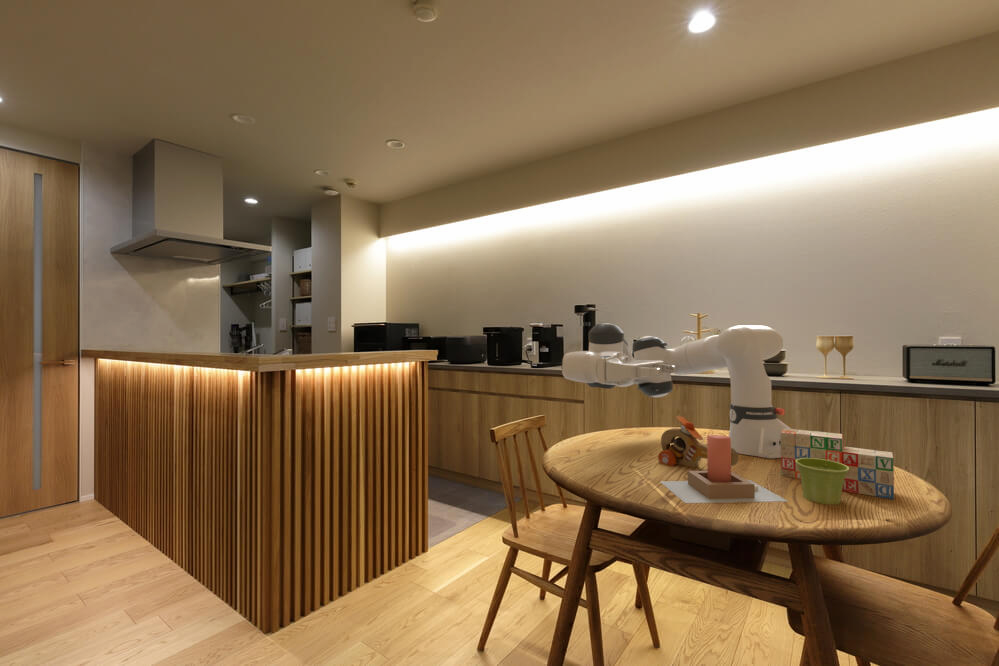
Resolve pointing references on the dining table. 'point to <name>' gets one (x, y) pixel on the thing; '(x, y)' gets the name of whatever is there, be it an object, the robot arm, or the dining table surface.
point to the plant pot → (822, 479)
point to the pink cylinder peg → (719, 458)
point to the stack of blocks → (839, 461)
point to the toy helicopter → (685, 446)
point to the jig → (719, 490)
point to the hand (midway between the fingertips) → (666, 370)
